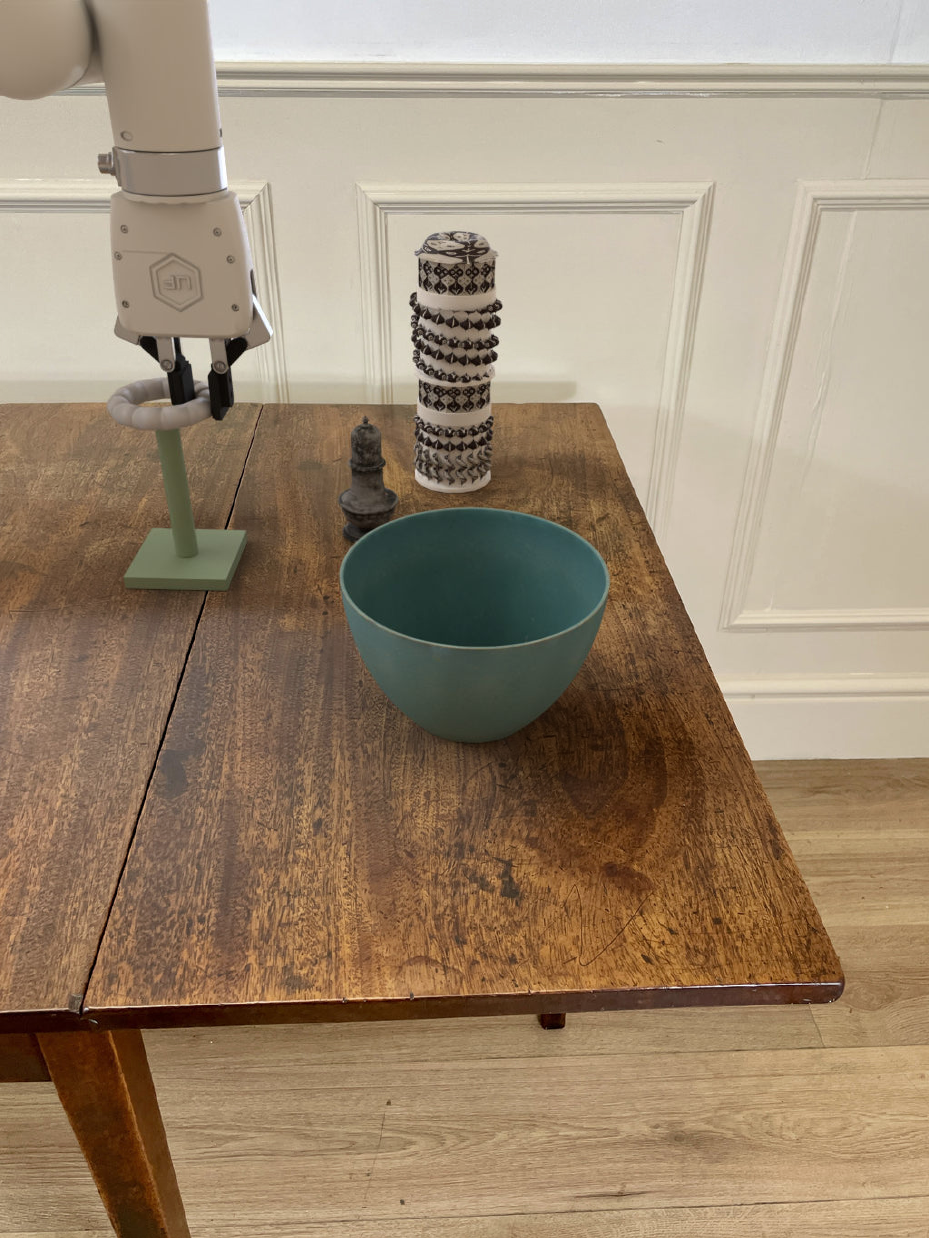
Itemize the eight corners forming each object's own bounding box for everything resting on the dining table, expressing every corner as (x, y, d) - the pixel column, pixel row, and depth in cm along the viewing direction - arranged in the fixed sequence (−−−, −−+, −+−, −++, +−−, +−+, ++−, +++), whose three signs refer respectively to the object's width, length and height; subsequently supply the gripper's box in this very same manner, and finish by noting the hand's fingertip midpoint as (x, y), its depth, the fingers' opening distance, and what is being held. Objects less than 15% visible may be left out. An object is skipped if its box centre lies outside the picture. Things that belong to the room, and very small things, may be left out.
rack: (125, 588, 83) (93, 438, 75) (154, 538, 91) (128, 397, 83) (227, 591, 83) (206, 441, 75) (247, 541, 91) (230, 399, 83)
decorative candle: (467, 502, 98) (474, 253, 84) (394, 480, 102) (389, 238, 88) (509, 471, 105) (523, 234, 91) (440, 452, 109) (442, 222, 95)
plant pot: (526, 832, 60) (538, 681, 53) (297, 736, 67) (283, 592, 61) (627, 682, 74) (648, 546, 67) (428, 616, 81) (428, 486, 74)
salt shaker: (326, 534, 92) (319, 418, 85) (364, 512, 96) (360, 399, 89) (374, 552, 89) (370, 433, 83) (411, 528, 94) (410, 413, 87)
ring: (95, 432, 75) (91, 411, 74) (128, 393, 82) (124, 373, 81) (206, 434, 75) (203, 413, 74) (229, 395, 82) (226, 375, 81)
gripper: (43, 178, 65) (94, 429, 76) (274, 186, 65) (293, 435, 76) (81, 161, 71) (123, 395, 82) (291, 169, 72) (306, 400, 82)
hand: (204, 412), depth 79 cm, fingers closed on ring, 2 cm apart
